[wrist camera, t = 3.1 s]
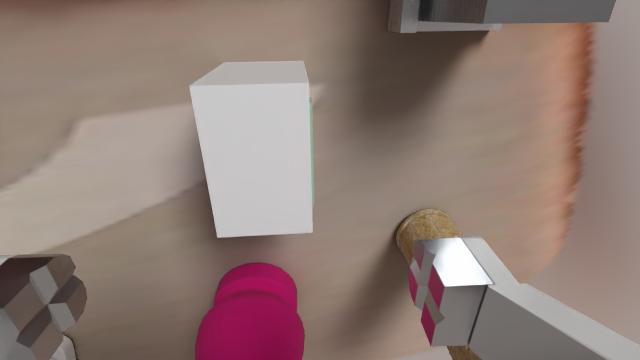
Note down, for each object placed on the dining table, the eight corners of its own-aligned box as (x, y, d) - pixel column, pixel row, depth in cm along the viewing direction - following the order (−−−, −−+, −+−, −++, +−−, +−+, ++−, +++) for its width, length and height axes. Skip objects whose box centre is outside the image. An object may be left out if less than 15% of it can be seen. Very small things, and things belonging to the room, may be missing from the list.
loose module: (309, 171, 22) (315, 232, 16) (239, 173, 22) (217, 237, 15) (306, 60, 19) (312, 82, 13) (223, 62, 19) (189, 85, 12)
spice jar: (391, 213, 24) (491, 412, 12) (453, 200, 24) (616, 388, 12) (397, 261, 26) (487, 471, 14) (454, 249, 26) (594, 450, 14)
